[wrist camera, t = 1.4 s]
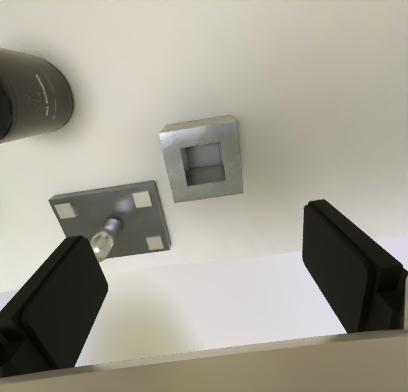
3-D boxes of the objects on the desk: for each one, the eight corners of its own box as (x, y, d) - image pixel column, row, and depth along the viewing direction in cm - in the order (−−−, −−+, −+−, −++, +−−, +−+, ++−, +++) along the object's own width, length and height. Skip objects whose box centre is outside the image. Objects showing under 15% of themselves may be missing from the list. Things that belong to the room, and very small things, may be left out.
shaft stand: (154, 180, 26) (142, 205, 21) (170, 244, 30) (164, 279, 24) (54, 195, 27) (15, 223, 21) (82, 256, 31) (56, 293, 25)
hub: (229, 114, 23) (237, 120, 19) (235, 175, 26) (243, 193, 22) (166, 125, 24) (158, 133, 19) (179, 183, 27) (174, 202, 22)
